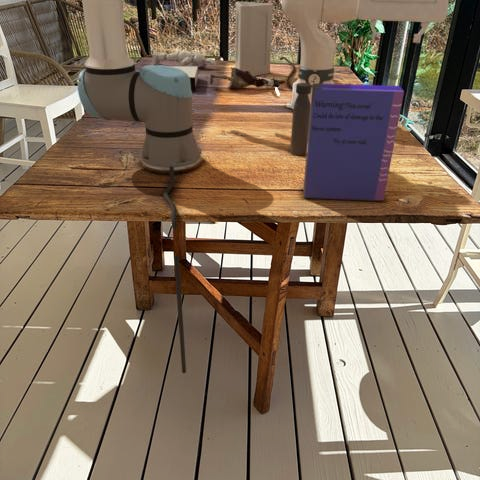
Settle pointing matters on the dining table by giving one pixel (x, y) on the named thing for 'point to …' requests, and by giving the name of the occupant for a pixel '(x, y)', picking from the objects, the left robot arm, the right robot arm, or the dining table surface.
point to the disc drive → (190, 74)
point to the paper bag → (253, 37)
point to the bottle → (300, 125)
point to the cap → (303, 88)
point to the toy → (181, 58)
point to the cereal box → (351, 141)
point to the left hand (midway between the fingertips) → (174, 20)
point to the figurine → (246, 79)
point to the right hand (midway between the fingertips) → (395, 41)
